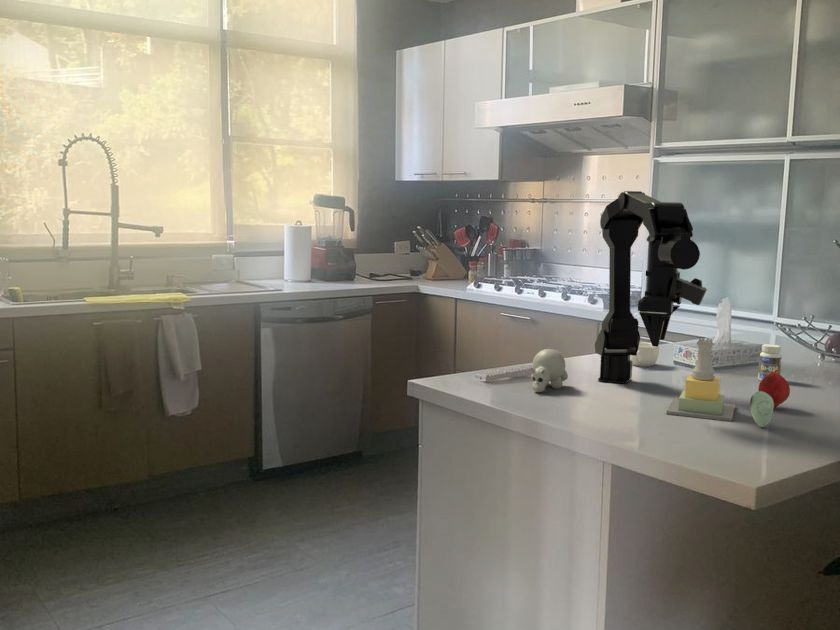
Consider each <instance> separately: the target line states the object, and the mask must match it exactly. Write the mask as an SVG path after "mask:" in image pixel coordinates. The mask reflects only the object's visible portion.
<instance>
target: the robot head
mask: <svg viewBox="0 0 840 630" xmlns="http://www.w3.org/2000/svg"><path fill="white" fill-rule="evenodd" d="M749 406H750V414H751V416H752V418H753V421H754V422H755V423H756V424H757V426H759V427H760V428H765V427H767V425H768V424H770V421H771V420H772V416H773V412H774V409H775V408H774V402H773V399H772V397H771V396H770V395H768V394H767V393H765V392H762V391H759V390H758V391H756V392H755V393H753V394H752V395H751V397H750V399H749Z"/></svg>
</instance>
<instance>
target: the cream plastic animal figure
mask: <svg viewBox="0 0 840 630" xmlns="http://www.w3.org/2000/svg"><path fill="white" fill-rule="evenodd" d="M530 371H531V375H530V379H531V381H532V390H533V391H534V392H535V393H537V392H541V393H543V392H544V391H545V389H546V387H547V386H549V384H550V386H551V388H552V389H555V390H558V389H561V388H562V387H563V386H564V385H563V384H564V383H563V382H565V381H566V380H567V379H568V378H569V376H568V375H569V374H568V372H567V371H566V361H565V358H564V356H563V355H562V354H561V353H560V352H559V351H558V350H556V349H552V348H545V349H542V350H540V351H539V352H537V353H536V355H535V356H534V357H533V360H532V367H530Z"/></svg>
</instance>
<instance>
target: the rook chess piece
mask: <svg viewBox="0 0 840 630" xmlns="http://www.w3.org/2000/svg"><path fill="white" fill-rule="evenodd" d="M714 345H715V343H714V342H713V338H709V337H707V338H706V339H705V337H702V338H701V337H699V338H698V341H697V342H696V346H697V347H698V349H697V359H696V363H695V365H694V367H693V368H692V370H691V372H692V374H691V375H692V377H693V378H694V379H696V380H703V381H711V380H713V379H714V378H715V377H716V376H715V373H716V371H715V369H714V366H713V364H712V353H713V351H712V348H713V347H714Z"/></svg>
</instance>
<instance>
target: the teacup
mask: <svg viewBox="0 0 840 630" xmlns="http://www.w3.org/2000/svg"><path fill="white" fill-rule="evenodd" d="M659 354H660V345H658V346H657V347H655V346H652V344H651V342H645V341H644V342H643V341H640V342H639V347H638V352H637V355H636V356H634V355H630V360H631V361H632V366H636V367H638V368H639V367H641V368H649V367H652V366H654V365H655V364H656V363H657V361H658V358H659Z"/></svg>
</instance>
